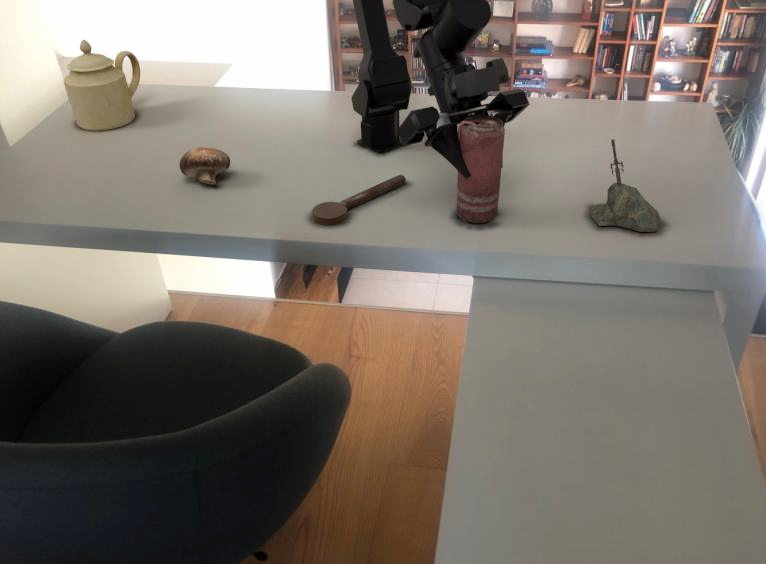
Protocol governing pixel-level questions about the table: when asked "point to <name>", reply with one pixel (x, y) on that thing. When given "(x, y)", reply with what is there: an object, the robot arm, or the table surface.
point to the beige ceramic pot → (101, 89)
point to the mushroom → (204, 164)
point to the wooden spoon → (352, 202)
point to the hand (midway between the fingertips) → (484, 173)
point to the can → (480, 167)
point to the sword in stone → (625, 206)
